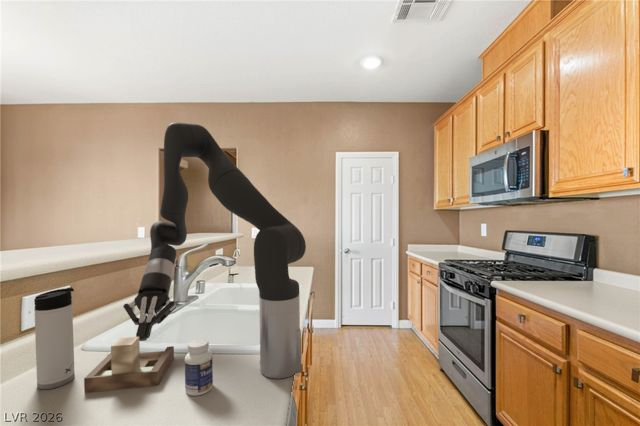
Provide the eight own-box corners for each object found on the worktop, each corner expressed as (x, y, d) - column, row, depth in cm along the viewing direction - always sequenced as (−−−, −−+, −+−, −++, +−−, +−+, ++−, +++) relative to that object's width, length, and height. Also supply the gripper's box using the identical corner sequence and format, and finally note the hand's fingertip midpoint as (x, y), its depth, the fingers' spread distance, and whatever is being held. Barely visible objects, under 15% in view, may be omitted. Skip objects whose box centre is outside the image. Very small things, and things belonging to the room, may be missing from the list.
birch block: (140, 367, 70) (139, 336, 70) (132, 377, 66) (131, 344, 66) (120, 369, 70) (119, 338, 69) (111, 379, 66) (110, 346, 65)
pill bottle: (203, 398, 62) (202, 349, 62) (179, 395, 63) (178, 347, 63) (217, 383, 67) (217, 338, 67) (195, 380, 69) (194, 336, 68)
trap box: (174, 358, 79) (173, 346, 78) (157, 385, 67) (157, 371, 67) (112, 363, 76) (112, 351, 76) (84, 392, 64) (84, 378, 64)
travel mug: (79, 380, 69) (76, 290, 68) (39, 393, 64) (35, 296, 64) (73, 370, 73) (70, 285, 73) (35, 382, 68) (32, 291, 68)
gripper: (127, 272, 85) (106, 335, 73) (179, 270, 87) (167, 331, 76) (135, 286, 90) (117, 347, 79) (184, 284, 93) (173, 343, 81)
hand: (142, 339), depth 77 cm, fingers closed
